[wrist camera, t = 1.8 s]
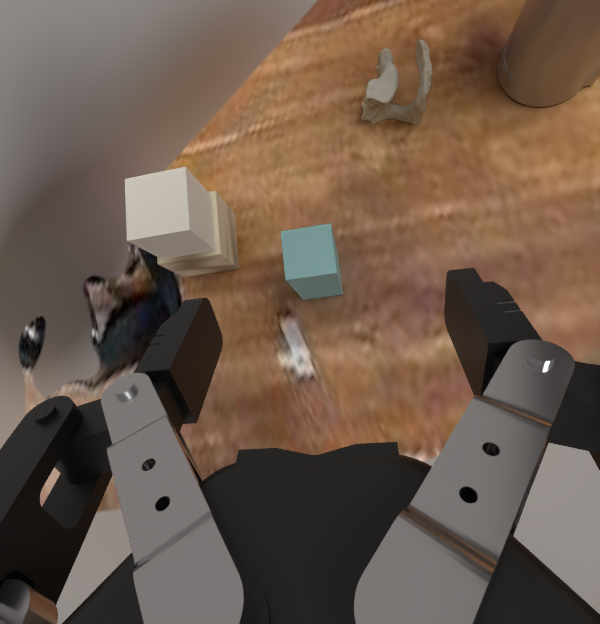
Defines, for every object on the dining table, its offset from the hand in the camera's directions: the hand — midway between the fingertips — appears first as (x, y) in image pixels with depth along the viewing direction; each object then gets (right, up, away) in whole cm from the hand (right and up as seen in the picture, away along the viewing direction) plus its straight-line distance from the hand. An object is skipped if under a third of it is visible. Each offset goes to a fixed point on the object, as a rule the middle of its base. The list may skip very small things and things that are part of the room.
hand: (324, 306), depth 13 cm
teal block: (+1, +4, +30) cm, 30 cm away
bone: (+9, +24, +32) cm, 41 cm away
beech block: (-12, +8, +33) cm, 36 cm away
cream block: (-13, +9, +27) cm, 31 cm away
